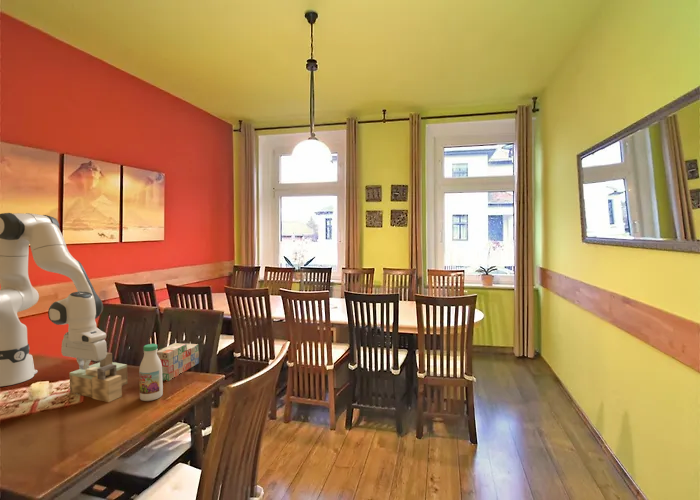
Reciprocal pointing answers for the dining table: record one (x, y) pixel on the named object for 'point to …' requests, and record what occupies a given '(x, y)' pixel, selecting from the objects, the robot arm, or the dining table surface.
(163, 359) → the stack of blocks
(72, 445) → the dining table surface
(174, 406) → the dining table surface
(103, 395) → the wooden cabinet
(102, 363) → the lid
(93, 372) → the wooden block
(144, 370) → the milk bottle
